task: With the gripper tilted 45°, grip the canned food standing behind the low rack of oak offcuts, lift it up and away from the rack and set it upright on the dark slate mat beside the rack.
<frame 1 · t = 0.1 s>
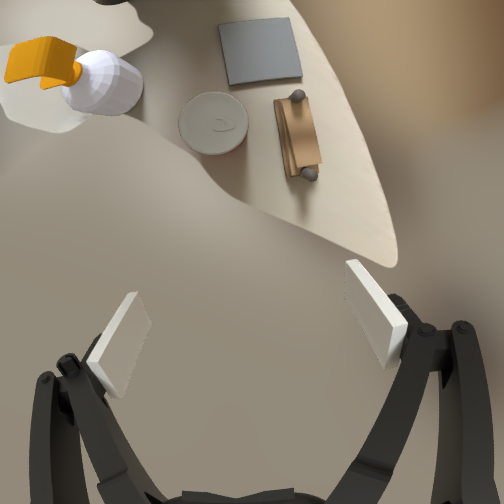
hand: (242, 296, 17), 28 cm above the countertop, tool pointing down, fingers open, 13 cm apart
offcut rack: (296, 136, 39), on the countertop
canned food: (220, 128, 38), on the countertop
soap bottle: (119, 90, 35), on the countertop
slate mat: (259, 49, 33), on the countertop
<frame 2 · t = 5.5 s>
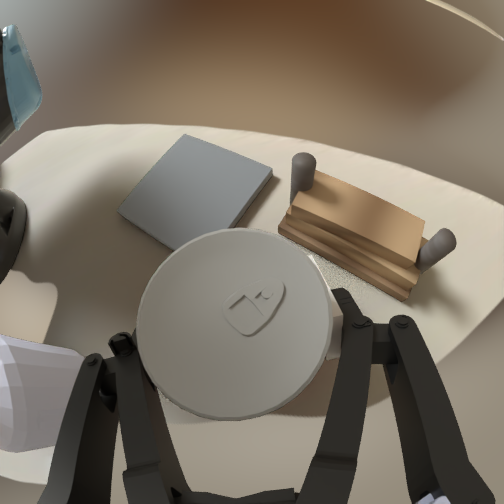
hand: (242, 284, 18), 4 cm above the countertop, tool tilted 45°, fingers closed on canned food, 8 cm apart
offcut rack: (353, 242, 22), on the countertop
canned food: (253, 339, 20), on the countertop, touching gripper
soap bottle: (72, 393, 19), on the countertop
slate mat: (192, 194, 25), on the countertop
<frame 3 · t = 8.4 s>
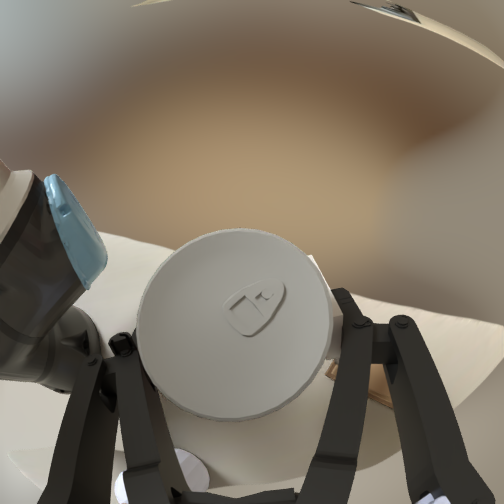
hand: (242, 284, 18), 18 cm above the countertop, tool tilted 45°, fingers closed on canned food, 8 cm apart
offcut rack: (372, 377, 31), on the countertop
canned food: (253, 340, 20), point 15 cm above the countertop, touching gripper
soap bottle: (179, 472, 28), on the countertop
when the fingers open (7 cm above the countertop, at t = 11.2 s): canned food drops 2 cm, resting on slate mat.
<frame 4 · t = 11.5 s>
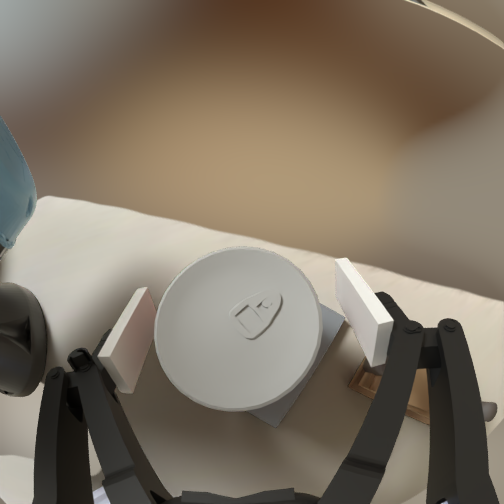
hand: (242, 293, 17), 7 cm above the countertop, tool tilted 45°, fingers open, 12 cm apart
offcut rack: (411, 387, 20), on the countertop
canned food: (255, 342, 22), point 1 cm above the countertop, touching slate mat
slate mat: (256, 341, 23), on the countertop
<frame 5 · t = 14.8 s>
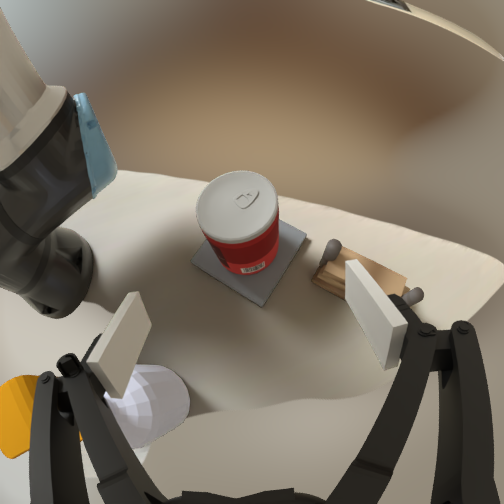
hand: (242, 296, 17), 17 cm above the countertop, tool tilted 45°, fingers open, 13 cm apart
offcut rack: (360, 287, 33), on the countertop
canned food: (248, 248, 36), point 1 cm above the countertop, touching slate mat
soap bottle: (158, 397, 30), on the countertop
slate mat: (249, 250, 36), on the countertop
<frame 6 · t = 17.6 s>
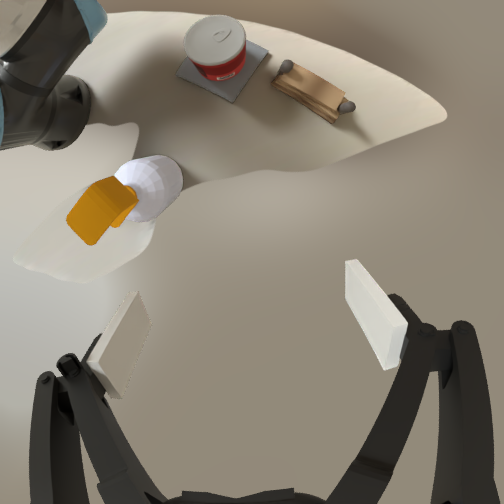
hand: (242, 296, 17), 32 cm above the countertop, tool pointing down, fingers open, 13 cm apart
offcut rack: (309, 92, 39), on the countertop
canned food: (221, 61, 36), point 1 cm above the countertop, touching slate mat
soap bottle: (158, 180, 45), on the countertop
slate mat: (221, 62, 37), on the countertop
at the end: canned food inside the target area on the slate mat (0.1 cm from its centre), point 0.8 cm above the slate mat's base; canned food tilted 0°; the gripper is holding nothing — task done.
